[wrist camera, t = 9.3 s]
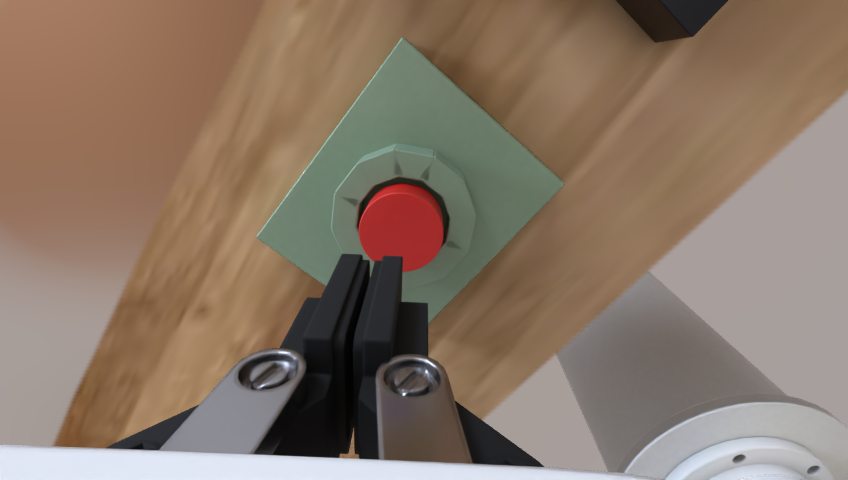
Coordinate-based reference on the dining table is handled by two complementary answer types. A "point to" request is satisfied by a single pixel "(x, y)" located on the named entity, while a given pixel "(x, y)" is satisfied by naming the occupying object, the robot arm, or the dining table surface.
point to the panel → (671, 16)
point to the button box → (413, 179)
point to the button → (402, 225)
